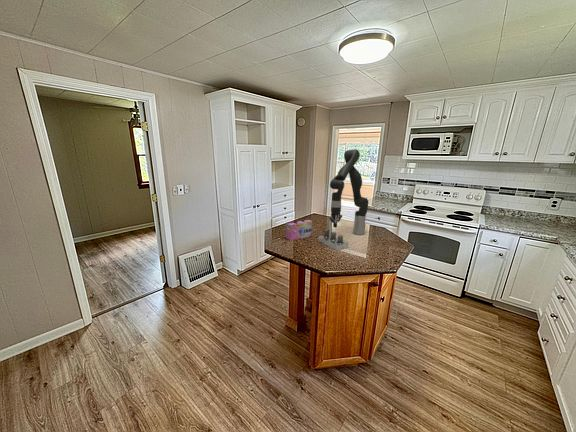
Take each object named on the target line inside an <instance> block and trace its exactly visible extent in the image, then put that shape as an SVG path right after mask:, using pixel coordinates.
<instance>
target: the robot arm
mask: <svg viewBox="0 0 576 432" xmlns="http://www.w3.org/2000/svg"><path fill="white" fill-rule="evenodd" d="M343 155H344V157H343V158H344V162H345V164H344V165H343V166H341V167H340V169H339V171H338V172H337V174H336V175H335V177H333V178H332V179H331V180H330V183H329V188H331V189H332V190H337V191H335V192H332V193H331V203H330V211H331V213H330V216H328V220H329V221H330V222H331V223H332V226H333V228H335V229H336V228H338V222H340V221H341V219H342V218H343V215H342V214H341V212H342V194H343V191H344V189H345V182H344V181H345V180H346V178H347V177H348V175H349V181H350V184H351V190H352V195H353V196H352V197H353V204H354V206H355V207H357V208H358V210H356V211H355V212H354V221H353V234H354V235H355V236H356V235H357V236H362V235H366V234H365V231H366V226H367V225H366V217H367V213H368V208H369V199H368V198H367V197H362V194H361V193H362V192H361V189H362V186H363V179H362V175H361V173H360V172H359V170H358V169H356V167H355V165H356V164H357V162H358V161H359V159H360V156H361V155H360V151H359V149H354V148H353V149H348V150H345V151H344V154H343Z"/></svg>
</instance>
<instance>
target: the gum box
mask: <svg viewBox="0 0 576 432" xmlns="http://www.w3.org/2000/svg"><path fill="white" fill-rule="evenodd" d="M313 223H314V222H313V220H310V219H309V218H307V219H300V220H295V221H289V222H288V221H287V222H286V223H285V238H286V239H287V240H289V241H294V240H299V239H305V238H309V236H310V237H313Z"/></svg>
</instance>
